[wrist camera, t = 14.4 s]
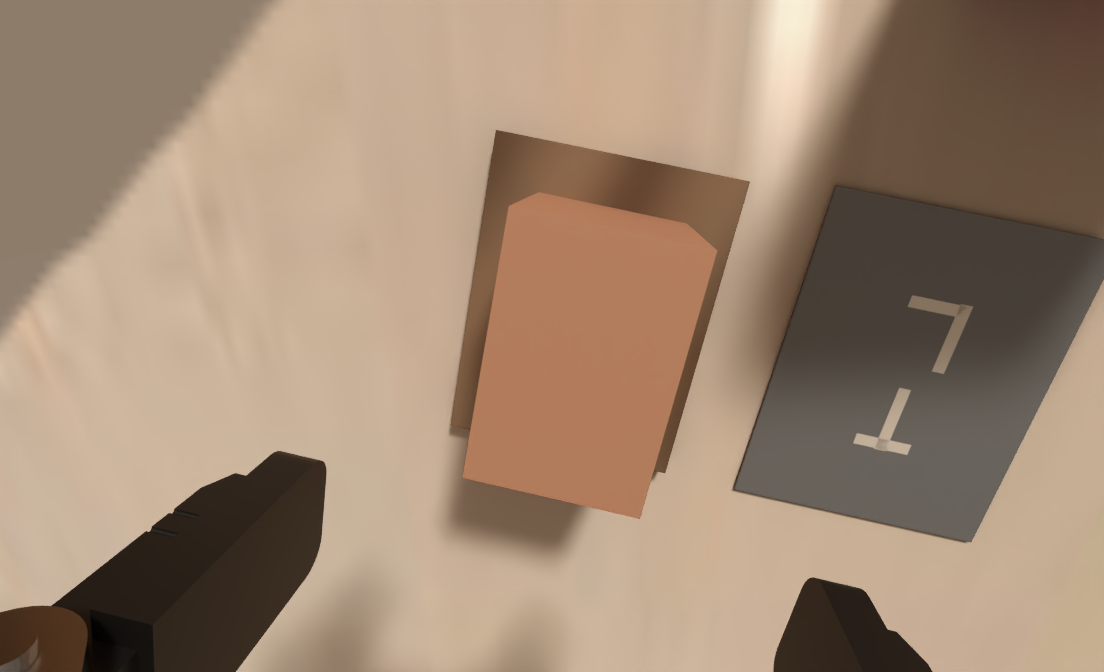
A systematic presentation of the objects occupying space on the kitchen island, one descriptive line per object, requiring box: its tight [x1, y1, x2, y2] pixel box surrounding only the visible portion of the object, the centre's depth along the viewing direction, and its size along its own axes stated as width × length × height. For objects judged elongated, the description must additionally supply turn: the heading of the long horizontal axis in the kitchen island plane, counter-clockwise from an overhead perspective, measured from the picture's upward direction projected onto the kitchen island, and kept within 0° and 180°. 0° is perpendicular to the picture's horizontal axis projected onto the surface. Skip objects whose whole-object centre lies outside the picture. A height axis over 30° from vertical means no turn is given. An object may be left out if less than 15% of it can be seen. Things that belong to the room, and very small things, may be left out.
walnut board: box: [451, 130, 750, 473], centre depth 25 cm, size 10×13×1 cm
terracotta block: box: [462, 192, 717, 519], centre depth 21 cm, size 6×9×7 cm, turn 169°
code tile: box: [734, 186, 1104, 542], centre depth 25 cm, size 11×14×1 cm
